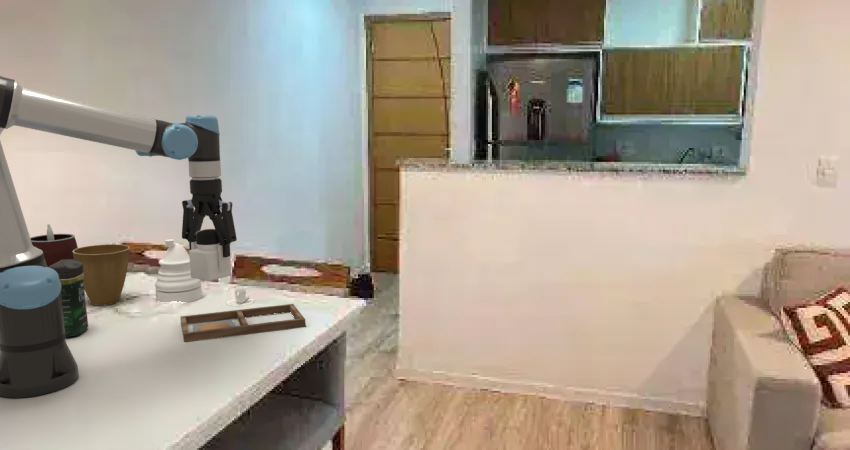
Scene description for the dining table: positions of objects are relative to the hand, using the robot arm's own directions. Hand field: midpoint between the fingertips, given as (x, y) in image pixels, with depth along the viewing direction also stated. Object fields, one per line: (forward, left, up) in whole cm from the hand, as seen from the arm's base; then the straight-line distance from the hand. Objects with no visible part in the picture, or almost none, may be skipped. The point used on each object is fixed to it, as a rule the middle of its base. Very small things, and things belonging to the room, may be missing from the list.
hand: (210, 268), depth 169 cm
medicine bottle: (0, 0, -2) cm, 2 cm away
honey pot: (+34, +7, -16) cm, 38 cm away
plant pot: (+38, +27, -16) cm, 49 cm away
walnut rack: (0, -7, -16) cm, 17 cm away
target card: (0, 0, -16) cm, 16 cm away
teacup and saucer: (+23, -12, -17) cm, 31 cm away
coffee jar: (+11, +34, -16) cm, 39 cm away
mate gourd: (+58, +42, -16) cm, 73 cm away
